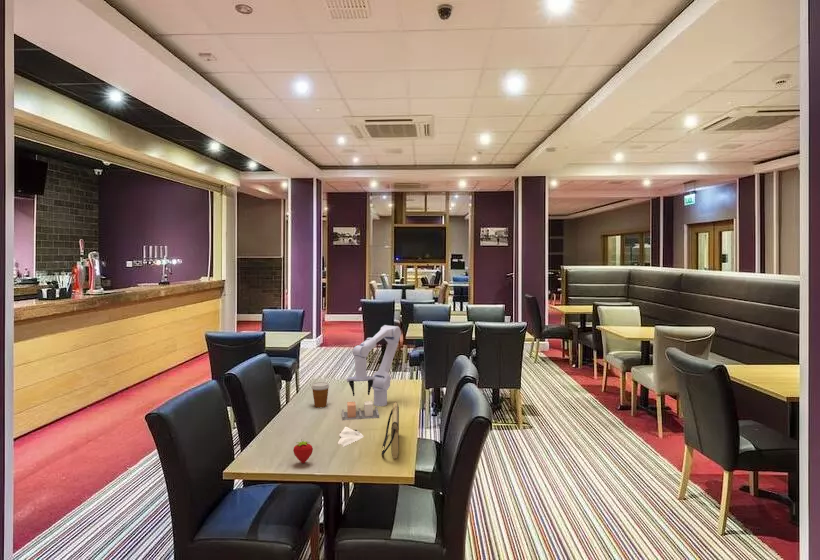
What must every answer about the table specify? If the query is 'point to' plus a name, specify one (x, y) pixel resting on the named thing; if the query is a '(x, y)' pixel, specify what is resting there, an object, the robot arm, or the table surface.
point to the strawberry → (302, 451)
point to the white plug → (368, 408)
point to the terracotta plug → (351, 409)
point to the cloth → (349, 436)
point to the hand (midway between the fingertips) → (361, 395)
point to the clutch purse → (393, 431)
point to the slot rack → (360, 415)
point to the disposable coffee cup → (320, 393)
